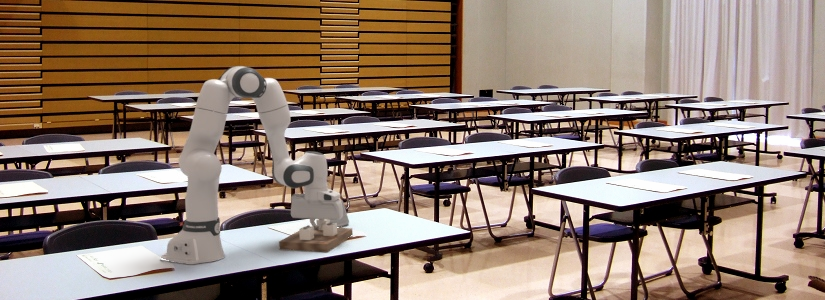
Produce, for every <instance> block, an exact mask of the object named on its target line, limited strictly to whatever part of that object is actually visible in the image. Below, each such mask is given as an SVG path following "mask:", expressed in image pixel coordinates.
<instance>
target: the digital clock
mask: <svg viewBox="0 0 825 300" xmlns="http://www.w3.org/2000/svg"><path fill="white" fill-rule="evenodd" d="M339 200H341V202H342V206H343V217H342V218H341V219H340V220H330V222H333V223H337V227H340V228H342V227H341V226H349V224H350V220H349V216H348V213H347V211H346V207H345V203H344V201H343V199H341V198H339Z"/></svg>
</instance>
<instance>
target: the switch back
mask: <svg viewBox="0 0 825 300" xmlns="http://www.w3.org/2000/svg"><path fill="white" fill-rule="evenodd" d="M315 221H316V222H315V224H316V225H319V224H320V222H319V219H315ZM329 222H330V220H326V219H324V223H323V224H322V231H323V225H324V224H326V223H329Z"/></svg>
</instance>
